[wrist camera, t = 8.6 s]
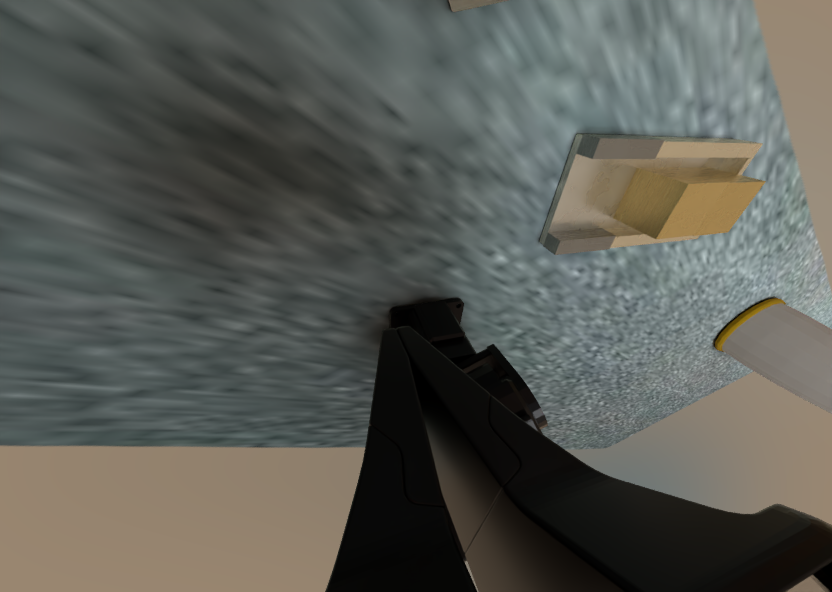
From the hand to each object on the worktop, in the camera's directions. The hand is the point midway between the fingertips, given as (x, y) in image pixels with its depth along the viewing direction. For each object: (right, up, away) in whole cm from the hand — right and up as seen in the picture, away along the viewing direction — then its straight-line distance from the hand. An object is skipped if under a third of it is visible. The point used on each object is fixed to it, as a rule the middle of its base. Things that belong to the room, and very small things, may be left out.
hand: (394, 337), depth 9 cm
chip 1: (+19, +10, +15) cm, 26 cm away
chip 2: (+23, +10, +16) cm, 30 cm away
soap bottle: (+55, -3, +40) cm, 68 cm away
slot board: (+19, +10, +15) cm, 26 cm away
